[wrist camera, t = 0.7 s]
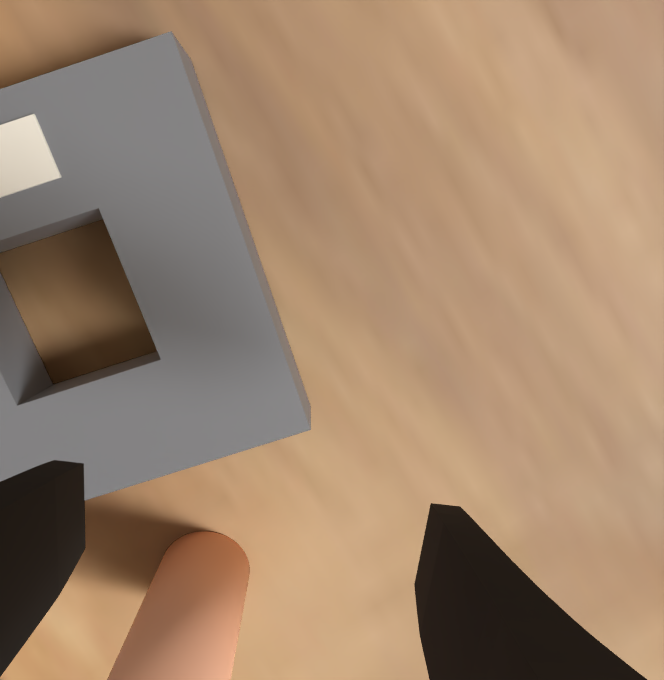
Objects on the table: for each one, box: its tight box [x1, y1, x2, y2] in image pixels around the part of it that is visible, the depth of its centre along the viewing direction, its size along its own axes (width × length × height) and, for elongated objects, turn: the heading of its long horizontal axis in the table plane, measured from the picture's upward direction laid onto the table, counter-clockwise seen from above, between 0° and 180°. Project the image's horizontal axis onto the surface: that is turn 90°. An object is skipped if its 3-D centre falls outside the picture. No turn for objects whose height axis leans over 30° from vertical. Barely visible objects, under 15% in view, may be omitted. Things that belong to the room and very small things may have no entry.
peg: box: [107, 531, 250, 680], centre depth 18 cm, size 4×4×8 cm
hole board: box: [0, 31, 311, 500], centre depth 18 cm, size 14×14×3 cm
